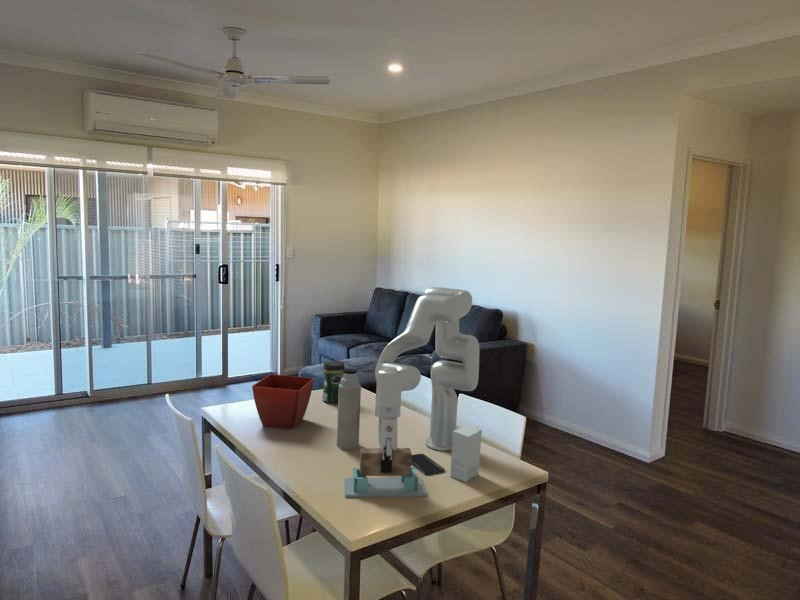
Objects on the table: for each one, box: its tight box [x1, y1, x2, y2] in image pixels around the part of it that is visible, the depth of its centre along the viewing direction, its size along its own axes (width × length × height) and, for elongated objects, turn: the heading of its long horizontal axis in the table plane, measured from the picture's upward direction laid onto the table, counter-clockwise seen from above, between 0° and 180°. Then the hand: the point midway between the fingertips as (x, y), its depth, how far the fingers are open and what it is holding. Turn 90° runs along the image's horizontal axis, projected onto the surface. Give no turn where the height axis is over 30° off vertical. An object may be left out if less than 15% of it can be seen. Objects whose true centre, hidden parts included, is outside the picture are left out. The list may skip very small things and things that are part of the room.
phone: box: [411, 453, 445, 476], centre depth 188 cm, size 8×1×15 cm
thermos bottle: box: [336, 368, 362, 450], centre depth 201 cm, size 8×8×28 cm
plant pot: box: [251, 373, 315, 430], centre depth 222 cm, size 19×19×17 cm
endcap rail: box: [343, 467, 427, 498], centre depth 169 cm, size 24×11×5 cm, turn 97°
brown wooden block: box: [359, 447, 413, 477], centre depth 168 cm, size 15×4×7 cm, turn 97°
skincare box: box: [449, 424, 483, 483], centre depth 180 cm, size 8×7×16 cm
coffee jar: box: [322, 360, 346, 404], centre depth 254 cm, size 10×8×19 cm
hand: (385, 468), depth 169 cm, fingers closed on brown wooden block, 4 cm apart
